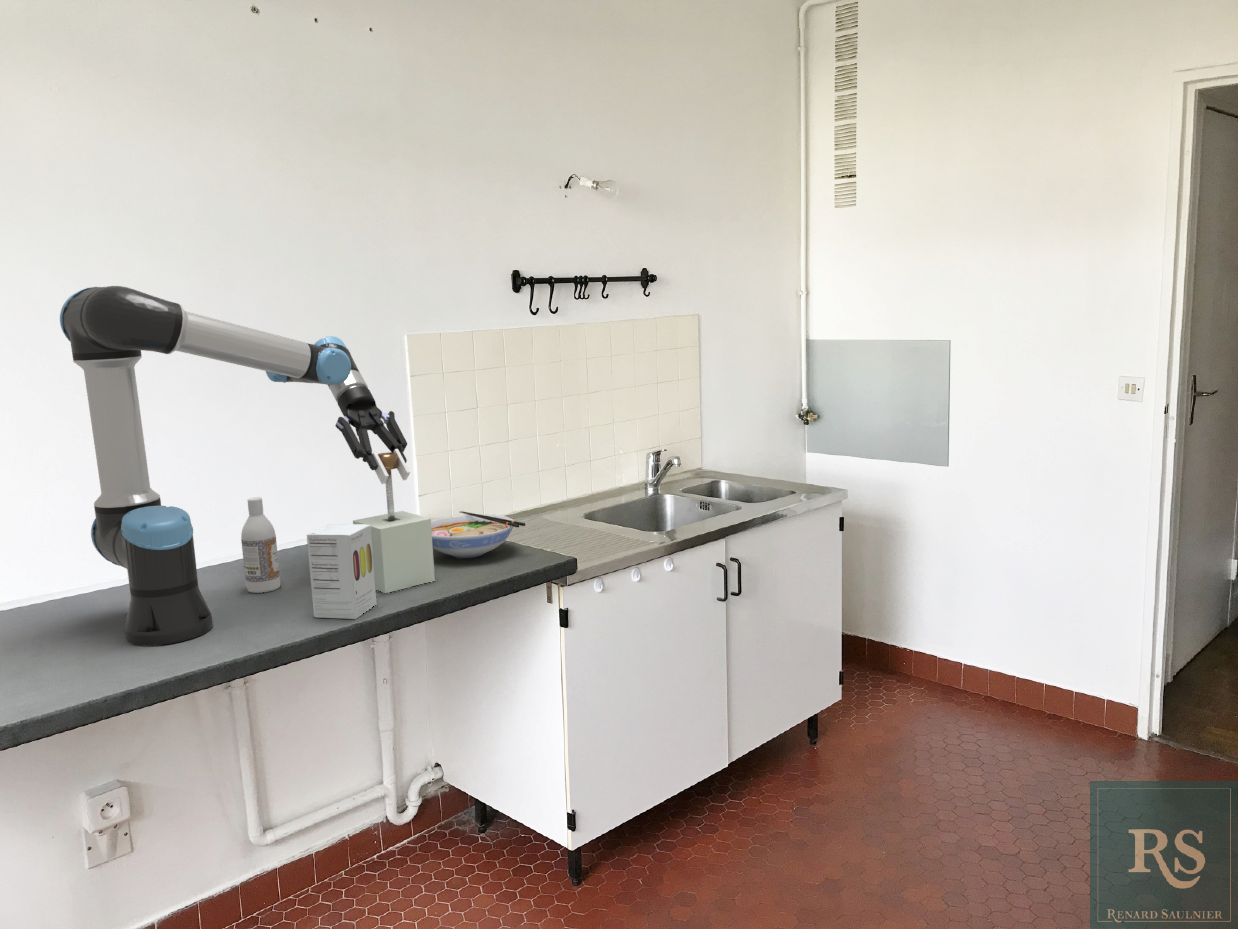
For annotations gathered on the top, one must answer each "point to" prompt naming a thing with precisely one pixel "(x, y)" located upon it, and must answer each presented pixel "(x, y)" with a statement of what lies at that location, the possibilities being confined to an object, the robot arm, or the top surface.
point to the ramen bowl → (470, 533)
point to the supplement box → (341, 570)
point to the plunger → (389, 480)
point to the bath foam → (259, 550)
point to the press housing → (401, 550)
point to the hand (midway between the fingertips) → (396, 477)
